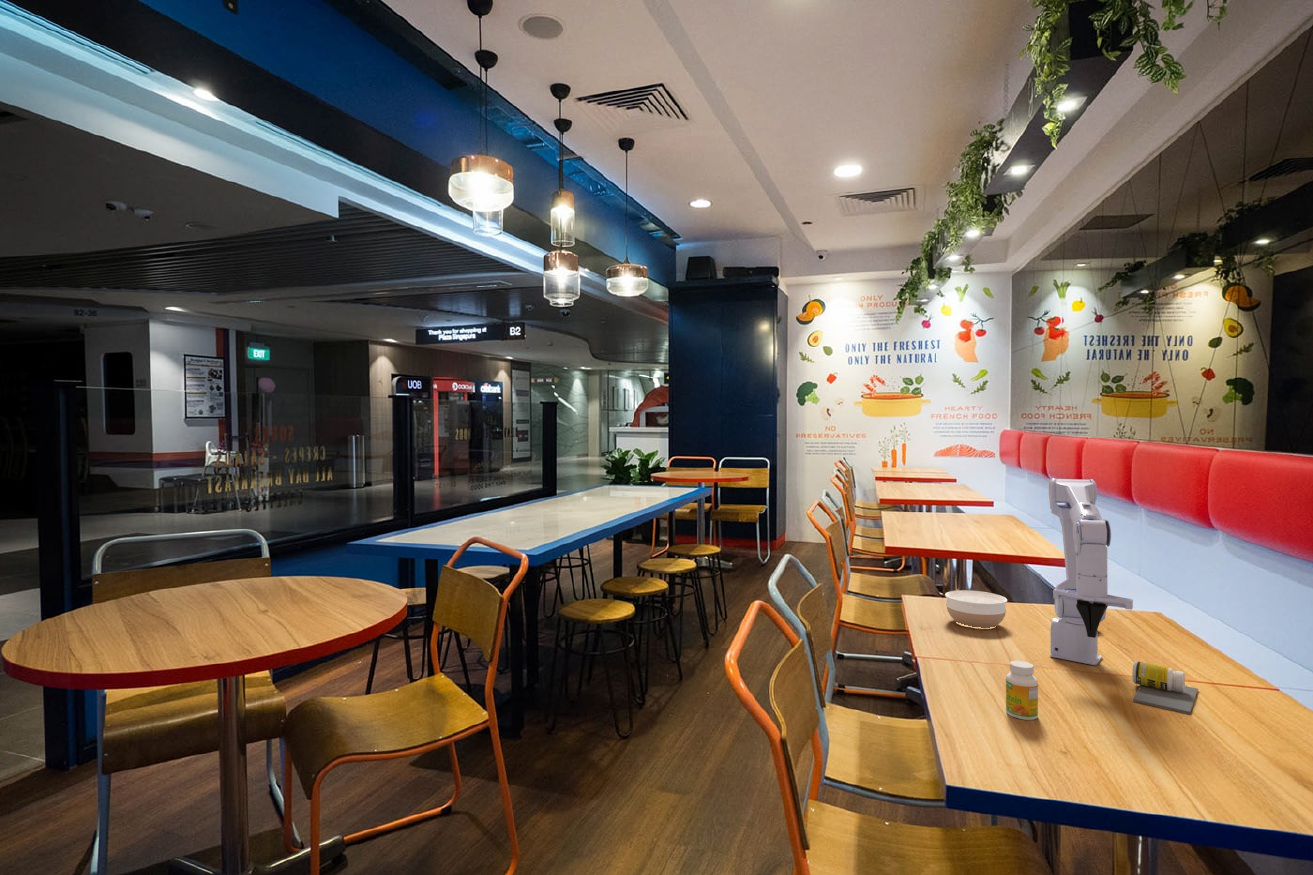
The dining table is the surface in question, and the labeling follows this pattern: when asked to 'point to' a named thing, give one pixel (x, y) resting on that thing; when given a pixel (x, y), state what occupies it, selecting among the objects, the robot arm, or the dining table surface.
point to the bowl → (976, 608)
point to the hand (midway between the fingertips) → (1092, 636)
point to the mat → (1167, 698)
